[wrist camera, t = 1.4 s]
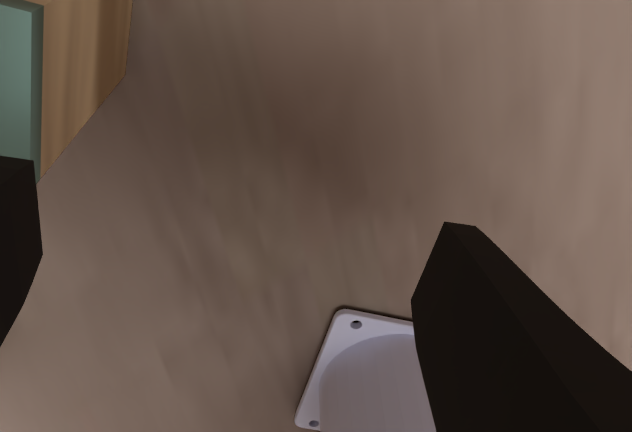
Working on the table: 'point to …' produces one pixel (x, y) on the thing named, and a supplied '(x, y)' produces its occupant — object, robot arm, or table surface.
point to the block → (56, 71)
